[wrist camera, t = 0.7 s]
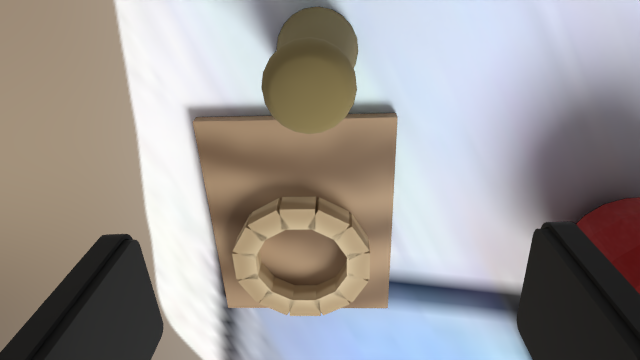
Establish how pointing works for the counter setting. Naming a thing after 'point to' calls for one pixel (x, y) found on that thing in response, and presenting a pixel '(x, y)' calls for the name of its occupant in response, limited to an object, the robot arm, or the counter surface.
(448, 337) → the counter surface
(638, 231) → the apple
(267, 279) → the beech ring
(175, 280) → the counter surface
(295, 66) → the cork
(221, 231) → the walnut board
